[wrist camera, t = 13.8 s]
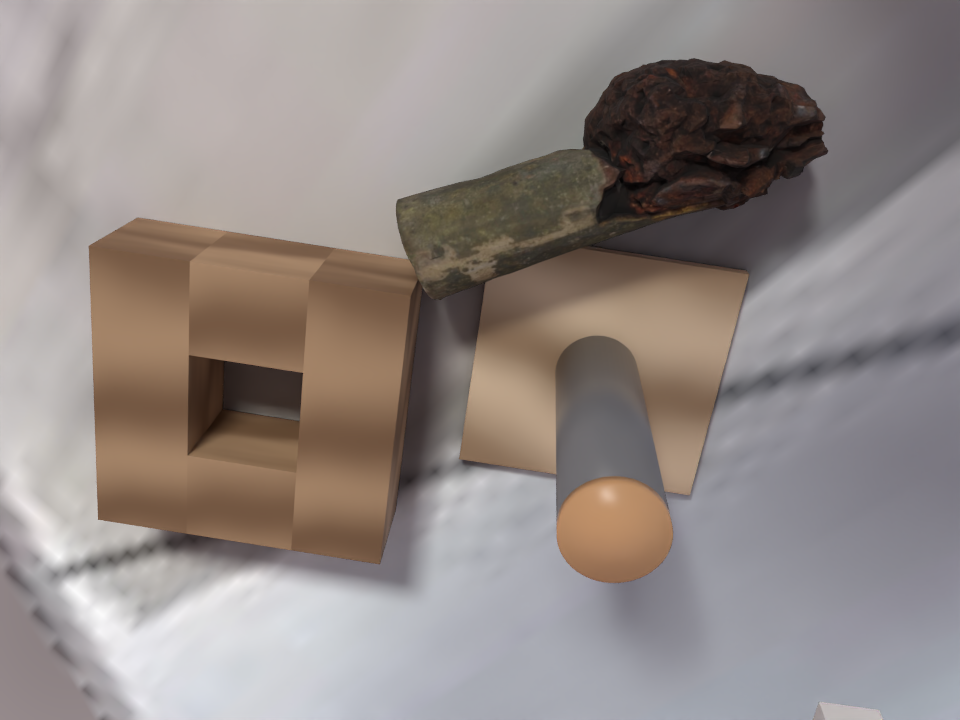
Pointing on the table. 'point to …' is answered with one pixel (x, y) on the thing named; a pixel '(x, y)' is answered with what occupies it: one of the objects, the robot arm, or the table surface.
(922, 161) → the table surface
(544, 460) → the light brown wooden board
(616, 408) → the plug
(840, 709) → the robot arm
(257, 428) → the socket block
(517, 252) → the brown lumpy club
